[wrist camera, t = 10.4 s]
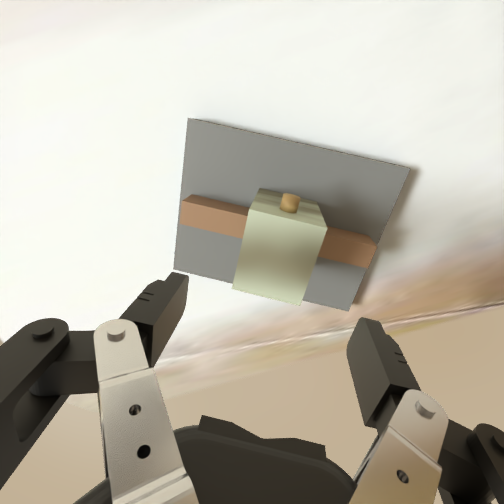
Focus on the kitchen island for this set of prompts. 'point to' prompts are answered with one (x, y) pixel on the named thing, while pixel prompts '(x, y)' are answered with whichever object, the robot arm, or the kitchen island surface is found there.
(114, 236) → the kitchen island surface
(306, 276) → the sage block
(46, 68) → the kitchen island surface
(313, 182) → the cleat board
